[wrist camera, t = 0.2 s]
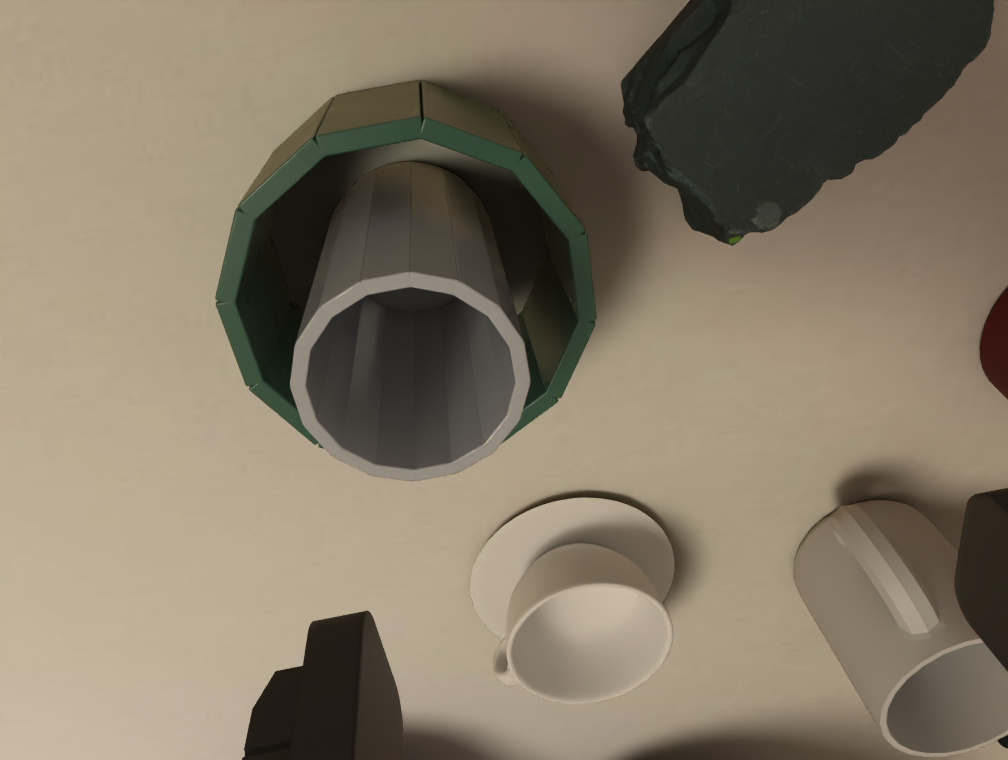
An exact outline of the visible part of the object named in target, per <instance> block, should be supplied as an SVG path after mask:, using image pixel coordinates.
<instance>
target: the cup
mask: <svg viewBox="0 0 1008 760" xmlns="http://www.w3.org/2000/svg"><path fill="white" fill-rule="evenodd" d="M957 558H958V552H957V550H956V549H955V548H954V547H953V546H952V545H951V544H950V543H949V542H948V540H947V539H946V538H945V537H944V536H943V535H942V534H941V533H940V531H939V530H938V529H937V528H936V527H935V526H934V525H933V524H932V523H931V522H930V521H929V520H928V519H927V518H926V517H925V516H924V515H923V514H922V513H921V512H919V511H917V510H916V509H914V508H913V507H911V506H910V505H906V504H902V503H899V502H895V501H889V500H869V501H864V502H859V503H854V504H851V505H845V506H840V507H839V508H838V510H837V511H835V512H833V513H832V514H830V515H829V516H827V517H826V518H824V519H823V520H821V521H820V522H819V523H818V524H817V525H816V526H815V527H814V528H813V529H812V530H811V531H809V533H808V534H807V536H806V537H805V539H804V540H803V541H802V543H801V544H800V547H799V549H798V552H797V555H796V558H795V562H794V581H795V584H796V586H797V589H798V591H799V594H800V596H801V598H802V600H803V602H804V603H805V605H806V607H807V608H808V610H809V612H810V613H811V615H812V617H813V618H814V620H815V622H816V623H817V625H818V627H819V629H820V630H821V632H822V634H823V635H824V637H825V639H826V640H827V642H828V644H829V645H830V647H831V649H832V650H833V652H834V654H835V655H836V657H837V659H838V661H839V662H840V664H841V666H842V667H843V669H844V671H845V672H846V674H847V676H848V677H849V679H850V681H851V682H852V684H853V686H854V687H855V689H856V691H857V693H858V694H859V696H860V698H861V699H862V701H863V703H864V704H865V706H866V708H867V709H868V711H869V713H870V714H871V716H872V718H873V719H874V721H875V723H876V725H877V726H878V728H879V730H880V731H881V733H882V735H883V736H884V738H885V739H886V740H887V741H888V742H889V743H890V744H891V745H892V746H893V747H894V748H896V749H898V750H900V751H902V752H904V753H906V754H910V755H916V756H921V757H946V756H951V755H956V754H961V753H966V752H969V751H972V750H975V749H978V748H980V747H983V746H986V745H989V744H991V743H992V742H994V741H996V740H998V739H1000V738H1002V737H1004V736H1006V735H1008V672H1007V670H1006V669H1005V668H1004V667H1003V666H1002V664H1001V663H1000V662H999V661H998V659H997V658H996V657H995V656H994V655H993V653H992V652H991V651H990V650H989V648H988V647H987V646H986V645H985V643H984V642H983V641H982V640H981V639H980V637H979V636H978V635H977V634H976V632H975V631H974V630H973V629H972V627H971V626H970V625H969V623H968V622H967V620H966V619H965V617H964V615H963V613H962V611H961V609H960V606H959V604H958V601H957V597H956V593H955V587H954V576H955V570H956V564H957Z"/></svg>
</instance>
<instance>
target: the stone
mask: <svg viewBox="0 0 1008 760" xmlns="http://www.w3.org/2000/svg"><path fill="white" fill-rule="evenodd" d="M993 2H994V0H690V1H689V2H688V4H687V5H686V6H685V7H684V9H682V11H681V12H680V13H679V14H678V15H677V17H676V18H675V19H674V20H673V21H672V23H671V24H670V25H669V26H668V28H667V29H666V30H665V31H664V32H663V34H662V35H661V36H660V37H659V38H658V39H657V40H656V41H655V43H654V44H653V45H652V46H651V47H650V48H649V49H648V50H647V52H646V53H645V54H644V55H643V56H642V58H641V59H640V60H639V61H638V62H637V64H636V65H635V66H634V67H633V69H632V70H631V71H630V72H629V73H628V74H627V76H626V77H625V78H624V79H623V80H622V82H621V89H622V95H623V101H624V108H623V114H624V117H625V125H627V126H628V127H633V128H634V130H635V132H636V133H637V144H636V148H635V152H634V155H633V156H634V162H635V166H636V167H637V168H638V169H639V170H641V171H650V172H651V173H653V174H654V175H656V176H657V177H658V178H659V179H660V180H661V181H662V182H664V183H665V184H668V185H670V186H673V187H675V188H677V189H678V191H679V194H680V197H681V200H682V203H683V211H684V216H685V220H686V221H687V223H688V224H689V226H690V227H691V228H692V229H693V230H695V231H699V232H702V233H705V234H707V235H710V236H713V237H714V238H716V239H717V240H718V241H721V242H723V243H726V244H729V245H732V246H733V245H734V244H736V243H737V242H739V241H740V240H741V239H742V238H743V236H744V235H746V234H747V233H749V232H760V233H763V232H767V231H770V230H773V229H775V228H776V227H777V226H779V225H780V224H781V223H782V222H783V221H784V220H785V219H786V218H787V217H788V216H791V215H793V214H795V213H796V212H797V211H799V210H800V209H801V208H802V207H803V206H805V205H806V204H807V203H808V202H809V201H810V200H811V199H812V198H813V197H814V196H815V195H816V194H817V192H818V191H819V190H820V188H821V186H822V184H823V183H824V182H825V181H827V180H828V179H829V180H833V179H843V178H844V177H846V176H848V175H850V174H851V173H852V172H853V170H854V167H855V164H857V163H859V162H861V161H863V160H867V159H874V158H876V157H877V156H879V155H880V154H882V153H883V152H884V151H886V150H887V149H889V148H890V147H891V146H892V145H894V144H895V142H896V141H897V139H898V138H899V137H900V136H902V135H904V134H906V133H907V132H908V131H909V129H910V128H911V127H912V126H913V125H914V124H916V123H917V122H919V121H920V120H921V118H922V117H923V115H924V113H926V112H927V111H928V110H929V109H930V108H931V107H932V106H934V105H935V104H936V103H937V102H938V101H939V100H941V99H942V97H943V96H944V95H945V93H946V92H947V91H948V90H949V89H950V88H951V87H953V86H954V84H955V82H956V80H957V79H958V78H959V76H960V74H961V72H962V70H963V69H964V67H965V66H966V65H967V64H968V63H969V62H971V61H973V60H974V59H975V58H976V57H977V56H978V55H979V54H980V53H981V52H982V51H983V49H984V48H985V47H986V45H987V42H988V40H989V38H990V35H991V24H992V19H993V11H994V7H993Z"/></svg>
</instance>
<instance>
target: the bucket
mask: <svg viewBox="0 0 1008 760" xmlns="http://www.w3.org/2000/svg"><path fill="white" fill-rule="evenodd" d="M416 139H424V140H426V141H429V142H432V143H435V144H437V145H440V146H443V147H446V148H448V149H451V150H454V151H457V152H460V153H462V154H465V155H468V156H471V157H473V158H476V159H479V160H482V161H484V162H487V163H490V164H493V165H496V166H498V167H501V168H504V169H507V170H509V171H512V172H513V173H514V175H515V176H516V177H517V178H518V180H519V181H520V182H521V183H522V184H523V186H524V187H525V188H526V189H527V191H528V192H529V193H530V194H531V195H532V197H533V198H534V199H535V200H536V202H537V203H538V204H539V205H540V206H541V208H542V215H543V222H544V230H545V237H546V244H547V254H546V256H545V259H544V261H543V263H542V266H541V268H540V270H539V273H538V275H537V278H536V280H535V282H534V285H533V287H532V290H531V292H530V294H529V297H528V299H527V301H526V304H525V306H524V309H523V311H522V313H520V314H519V315H518V316H517V318H518V321H519V325H520V329H521V332H522V336H523V339H524V343H525V349H526V355H527V361H528V367H529V373H530V379H531V381H530V387H529V390H528V394H527V397H526V401H525V404H524V408H523V411H522V415H521V418H520V420H519V422H518V423H517V425H516V426H515V427H514V428H513V430H512V431H511V432H510V433H509V434H508V436H507V437H506V438H505V439H504V440H503V442H504V441H506V440H507V439H508V438H510V437H511V436H512V435H514V434H515V433H516V432H518V431H519V430H521V429H522V428H523V427H525V426H526V425H527V424H529V423H530V422H531V421H533V420H534V419H535V418H537V417H538V416H539V415H541V414H542V413H544V412H545V411H546V410H548V409H549V408H550V407H552V406H553V405H554V404H556V403H557V402H558V398H561V397H562V395H563V393H564V391H565V389H566V387H567V385H568V382H569V380H570V378H571V376H572V374H573V372H574V370H575V368H576V365H577V363H578V361H579V359H580V357H581V355H582V353H583V350H584V348H585V346H586V344H587V342H588V340H589V338H590V336H591V333H592V331H593V329H594V327H595V325H596V323H595V320H596V318H597V317H596V307H595V298H594V289H593V280H592V271H591V262H590V253H589V244H588V235H587V233H586V232H585V228H584V226H583V224H582V223H581V221H580V220H579V218H578V216H577V215H576V213H575V211H574V210H573V208H572V206H571V205H570V203H569V201H568V200H567V198H566V196H565V195H564V193H563V191H562V190H561V188H560V186H559V185H558V183H557V181H556V180H555V178H554V177H553V175H552V173H551V172H550V171H549V169H548V168H547V167H546V166H545V164H544V163H543V162H542V161H541V159H540V158H539V157H538V156H537V154H536V153H535V152H534V150H533V149H532V148H531V147H530V145H529V144H528V143H527V142H526V140H525V139H524V138H523V136H522V135H521V134H520V133H519V131H518V130H517V129H516V128H515V126H514V125H513V124H512V123H511V121H510V120H509V119H508V117H507V116H506V115H505V114H504V113H501V111H500V110H499V109H496V108H494V107H491V106H488V105H486V104H483V103H481V102H478V101H475V100H473V99H470V98H467V97H465V96H462V95H460V94H457V93H454V92H452V91H449V90H446V89H444V88H441V87H439V86H436V85H433V84H431V83H428V82H425V81H421V84H420V83H419V81H418V80H415V81H410V82H404V83H399V84H393V85H388V86H383V87H377V88H372V89H366V90H361V91H356V92H350V93H345V94H339V95H336V96H335V98H333V97H331V98H330V99H329V100H328V101H327V102H326V103H325V104H324V105H323V106H322V107H321V108H319V109H318V110H317V111H316V112H315V113H314V114H313V115H312V116H311V117H310V118H309V119H308V120H307V121H306V122H305V123H303V124H302V125H301V126H300V127H299V128H298V129H297V130H296V131H295V132H294V133H293V134H292V135H291V136H290V137H288V138H287V139H286V140H285V141H284V142H283V143H282V144H281V145H280V146H279V147H278V148H277V149H276V150H275V151H273V153H272V155H271V156H270V158H269V159H268V161H267V162H266V164H265V165H264V167H263V168H262V170H261V171H260V173H259V174H258V176H257V177H256V179H255V180H254V182H253V183H252V185H251V186H250V188H249V189H248V191H247V192H246V194H245V195H244V197H243V199H242V200H241V202H240V203H239V205H238V207H237V209H236V210H235V214H234V218H233V222H232V227H231V231H230V235H229V240H228V244H227V249H226V253H225V257H224V262H223V266H222V270H221V275H220V279H219V283H218V288H217V292H216V296H215V298H216V300H217V302H216V307H217V309H218V312H219V315H220V318H221V320H222V323H223V326H224V328H225V331H226V334H227V336H228V339H229V342H230V344H231V347H232V350H233V352H234V355H235V358H236V360H237V363H238V366H239V368H240V371H241V374H242V377H243V379H244V382H245V385H246V386H250V387H249V390H250V391H251V392H252V393H253V394H255V395H256V396H257V397H258V398H259V399H261V400H262V401H263V402H264V403H265V404H267V405H268V406H269V407H270V408H271V409H273V410H274V411H275V412H276V413H277V414H278V415H280V416H281V417H282V418H283V419H284V420H286V421H287V422H288V423H289V424H290V425H292V426H293V427H294V428H295V429H296V430H298V431H299V432H300V433H301V434H302V435H304V436H305V437H306V438H307V439H308V440H309V441H311V442H312V443H313V444H315V445H316V444H318V443H319V442H318V441H317V440H316V439H315V438H314V437H313V436H312V434H311V433H310V432H309V431H308V430H307V429H306V428H305V427H304V425H303V424H302V421H301V418H300V415H299V412H298V409H297V406H296V403H295V400H294V397H293V394H292V391H291V388H290V379H291V371H292V363H293V355H294V347H295V343H296V339H297V336H298V332H299V329H300V326H301V322H302V319H303V315H304V311H303V310H302V309H301V308H299V307H298V306H297V305H296V304H295V303H294V302H293V301H292V300H291V298H290V295H289V292H288V288H287V285H286V282H285V279H284V276H283V273H282V270H281V267H280V263H279V260H278V257H277V254H276V251H275V248H274V245H273V242H272V238H271V235H270V231H271V227H272V223H273V219H274V215H275V211H276V207H277V203H278V199H279V198H280V197H281V196H282V195H283V194H284V193H286V192H287V191H288V190H289V189H290V188H291V187H292V186H293V185H294V184H295V183H297V182H298V181H299V180H300V179H301V178H302V177H303V176H304V175H305V174H306V173H308V172H309V171H310V170H311V169H312V168H313V167H314V166H315V165H316V164H317V163H318V162H320V161H321V160H322V159H323V158H324V157H325V156H330V155H336V154H341V153H346V152H352V151H357V150H363V149H368V148H373V147H379V146H384V145H390V144H395V143H400V142H406V141H411V140H416ZM503 442H502V443H503ZM502 443H501V444H502ZM318 446H319V447H320V448H324V447H323V446H322V445H321V444H320V443H319V445H318Z"/></svg>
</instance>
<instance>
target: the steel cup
mask: <svg viewBox="0 0 1008 760" xmlns="http://www.w3.org/2000/svg"><path fill="white" fill-rule="evenodd" d="M530 381H531V379H530V373H529V367H528V361H527V355H526V349H525V343H524V339H523V336H522V332H521V329H520V325H519V321H518V318H517V314H516V311H515V307H514V304H513V300H512V297H511V293H510V290H509V286H508V282H507V279H506V275H505V272H504V268H503V265H502V261H501V258H500V254H499V250H498V247H497V243H496V240H495V236H494V233H493V229H492V226H491V222H490V218H489V216H488V214H487V212H486V211H485V209H484V207H483V205H482V203H481V201H480V199H479V198H478V197H477V195H476V194H475V193H474V191H473V190H472V189H471V188H470V187H469V186H468V185H467V184H466V183H465V182H463V181H462V180H461V179H460V178H458V177H457V176H455V175H454V174H452V173H450V172H449V171H447V170H444V169H442V168H440V167H437V166H434V165H430V164H426V163H419V162H400V163H393V164H389V165H385V166H382V167H379V168H377V169H375V170H372V171H371V172H369V173H367V174H365V175H364V176H362V177H361V178H360V179H359V180H357V181H356V182H355V183H354V184H353V185H352V186H351V187H350V188H349V189H348V190H347V192H346V193H345V194H344V196H343V197H342V199H341V200H340V202H339V204H338V206H337V208H336V210H335V212H334V213H333V216H332V219H331V222H330V225H329V229H328V232H327V236H326V239H325V243H324V246H323V250H322V253H321V257H320V260H319V263H318V267H317V270H316V274H315V277H314V281H313V284H312V288H311V291H310V294H309V298H308V301H307V305H306V308H305V312H304V315H303V319H302V322H301V326H300V329H299V332H298V336H297V339H296V343H295V347H294V355H293V363H292V371H291V379H290V388H291V391H292V394H293V397H294V400H295V403H296V406H297V409H298V412H299V415H300V418H301V421H302V424H303V425H304V427H305V428H306V429H307V430H308V431H309V432H310V433H311V434H312V436H313V437H314V438H315V439H316V440H317V441H318V442H319V443H320V444H321V445H322V446H323V447H324V449H325V450H326V451H327V452H328V453H329V454H330V455H331V456H333V457H334V458H336V459H338V460H340V461H342V462H344V463H346V464H348V465H350V466H352V467H354V468H356V469H358V470H360V471H362V472H364V473H366V474H368V475H371V476H375V477H383V478H390V479H398V480H406V481H420V480H425V479H431V478H436V477H441V476H446V475H451V474H456V473H459V472H460V471H462V470H464V469H466V468H467V467H469V466H471V465H473V464H474V463H476V462H478V461H480V460H481V459H483V458H485V457H487V456H488V455H490V454H492V453H493V452H494V451H495V450H496V449H497V448H498V447H499V445H500V444H501V443H502V442H503V440H504V439H505V438H506V437H507V436H508V434H509V433H510V432H511V431H512V430H513V428H514V427H515V426H516V425H517V423H518V422H519V420H520V418H521V415H522V411H523V408H524V404H525V401H526V397H527V394H528V390H529V387H530Z"/></svg>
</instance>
